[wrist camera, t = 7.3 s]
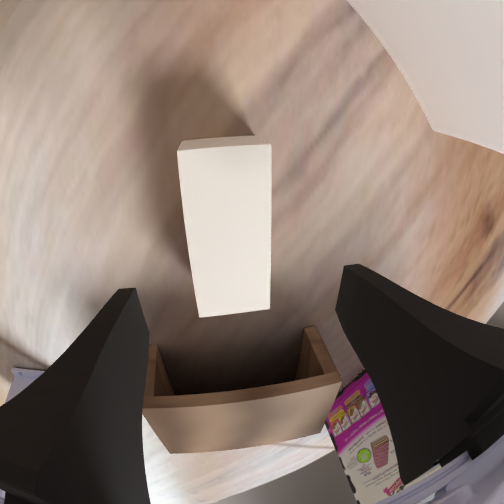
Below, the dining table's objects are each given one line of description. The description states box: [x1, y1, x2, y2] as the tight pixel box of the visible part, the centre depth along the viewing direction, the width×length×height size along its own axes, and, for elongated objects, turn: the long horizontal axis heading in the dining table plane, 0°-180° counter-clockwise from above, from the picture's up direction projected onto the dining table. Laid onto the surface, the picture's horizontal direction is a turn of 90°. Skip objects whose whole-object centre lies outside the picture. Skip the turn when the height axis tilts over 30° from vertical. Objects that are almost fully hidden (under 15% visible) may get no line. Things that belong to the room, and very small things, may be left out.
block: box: [177, 135, 271, 318], centre depth 15 cm, size 4×9×4 cm, turn 1°
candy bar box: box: [325, 370, 441, 504], centre depth 23 cm, size 11×5×16 cm, turn 148°
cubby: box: [142, 326, 342, 454], centre depth 22 cm, size 14×9×6 cm, turn 90°
